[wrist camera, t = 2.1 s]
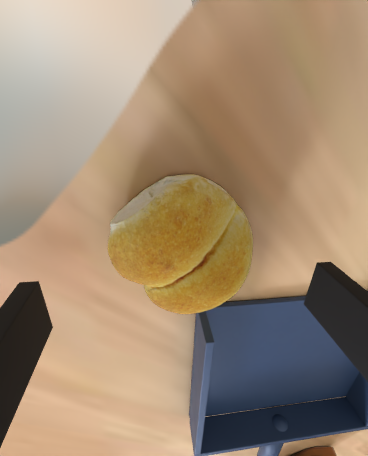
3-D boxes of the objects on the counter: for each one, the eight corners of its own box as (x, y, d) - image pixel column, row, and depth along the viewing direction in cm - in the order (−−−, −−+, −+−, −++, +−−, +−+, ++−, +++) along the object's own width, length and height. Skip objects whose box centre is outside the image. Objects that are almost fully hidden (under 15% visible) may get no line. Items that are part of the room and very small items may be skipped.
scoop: (196, 304, 19) (206, 343, 16) (406, 287, 21) (450, 318, 18) (186, 454, 30) (190, 494, 27) (323, 431, 33) (341, 465, 29)
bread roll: (174, 307, 18) (181, 354, 15) (89, 227, 15) (71, 265, 11) (266, 249, 17) (296, 286, 14) (199, 145, 13) (218, 158, 10)
